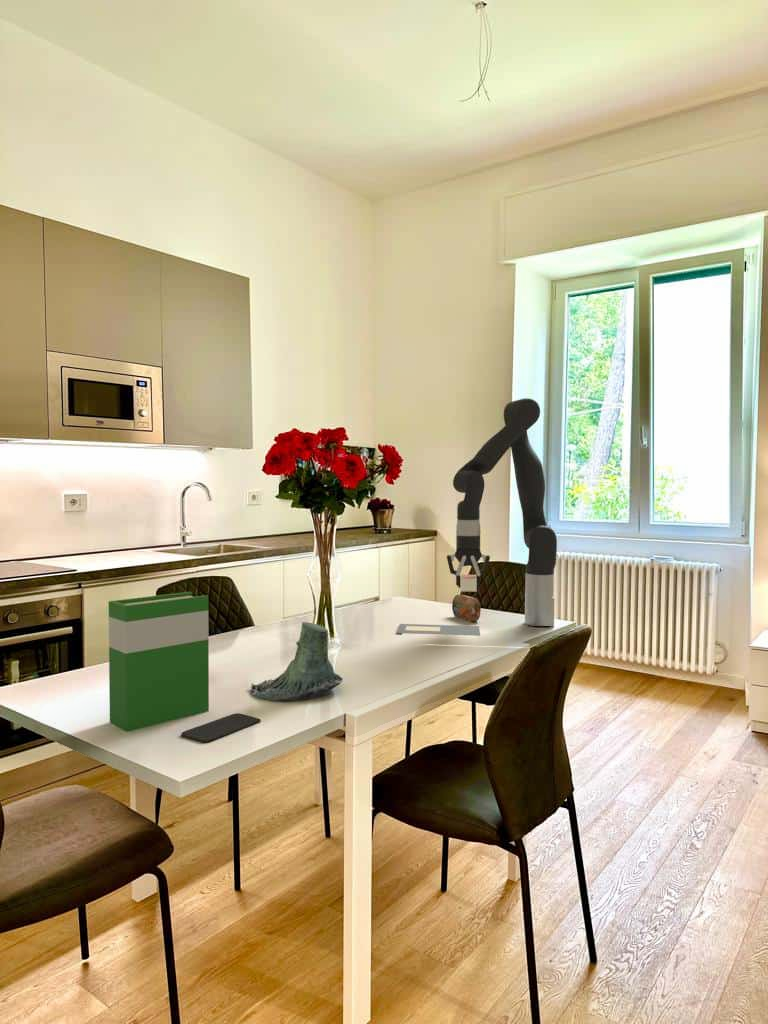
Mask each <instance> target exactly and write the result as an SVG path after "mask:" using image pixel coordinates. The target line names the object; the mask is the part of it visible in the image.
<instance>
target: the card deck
mask: <svg viewBox="0 0 768 1024" xmlns="http://www.w3.org/2000/svg"><path fill="white" fill-rule="evenodd" d="M460 575H461V577H460V588H459V589H460V590H459V591H460V592H478V591H477V578H476V575H477V574H460Z"/></svg>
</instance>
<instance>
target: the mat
mask: <svg viewBox="0 0 768 1024" xmlns="http://www.w3.org/2000/svg"><path fill="white" fill-rule="evenodd" d="M403 634H419V635H421V634H422V635H444V636H445V635H447V636H448V635H449V636H450V635H451V636H452V635H453V636H478V637H479V636H481V632H480V626H479V625H456V624H455V625H454V624H453V625H452V624H451V625H449V624H448V625H447V624H423V623H422V624H417V623H416V624H415V623H399V625H398V627H397V629H396V632H395V635H403Z"/></svg>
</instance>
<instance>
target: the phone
mask: <svg viewBox="0 0 768 1024" xmlns="http://www.w3.org/2000/svg"><path fill="white" fill-rule="evenodd" d="M261 721H262V720H261V718H258V717H255V716H250V715H247V714H244V713H233V714H230V715H226V716H223V717H220V718H217V719H215V720H212V721H210V722H206V723H204V724H201V725H198V726H195V727H193V728H190V729H187V730H184V731H182V732H181V733H180V734H181V735H180V736H181V737H182V738H184V739H187V740H189V741H192V742H193V741H194V742H197V743H199V744H209V743H212V742H215V741H217V740H220V739H223V738H225V737H229V736H230V735H232V734H235V733H237V732H240V731H243V730H245V729H247V728H251V727H252V726H255V725H258V724H260V723H261Z"/></svg>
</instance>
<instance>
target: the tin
mask: <svg viewBox="0 0 768 1024" xmlns="http://www.w3.org/2000/svg"><path fill="white" fill-rule="evenodd" d="M481 607H482V606H481V603H480V601H479V600H478V599H477V597H473V596H469V595H464V594H456V595H455V596H454V597H453V600H452V604H451V608H452V609H451V610H452V614H453V616H454V618H456V617H459V618H458V619H461V620H465V621H468V622H470V623H472V622H477V621H478V620H479V619H480V617H481V609H482V608H481Z"/></svg>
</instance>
